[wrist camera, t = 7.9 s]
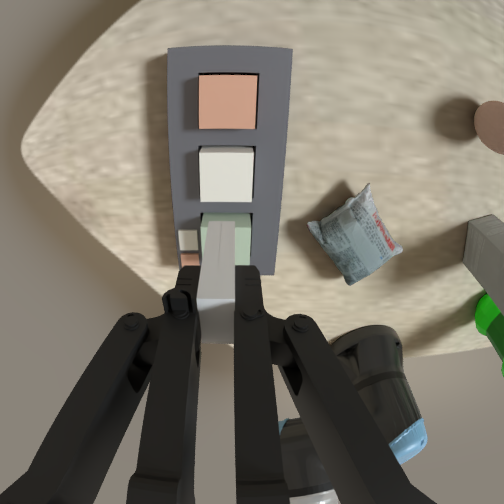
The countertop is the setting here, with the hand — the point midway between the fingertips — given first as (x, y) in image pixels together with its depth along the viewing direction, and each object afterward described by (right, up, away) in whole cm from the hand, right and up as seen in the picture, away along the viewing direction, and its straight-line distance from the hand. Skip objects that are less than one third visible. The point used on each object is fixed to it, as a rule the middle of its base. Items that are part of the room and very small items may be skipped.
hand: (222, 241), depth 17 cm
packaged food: (+15, +2, +18) cm, 24 cm away
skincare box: (+38, +2, +20) cm, 43 cm away
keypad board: (-1, +9, +13) cm, 15 cm away
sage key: (-1, +2, +15) cm, 15 cm away
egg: (+32, +17, +9) cm, 37 cm away
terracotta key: (-1, +14, +8) cm, 16 cm away
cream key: (-1, +8, +12) cm, 15 cm away
